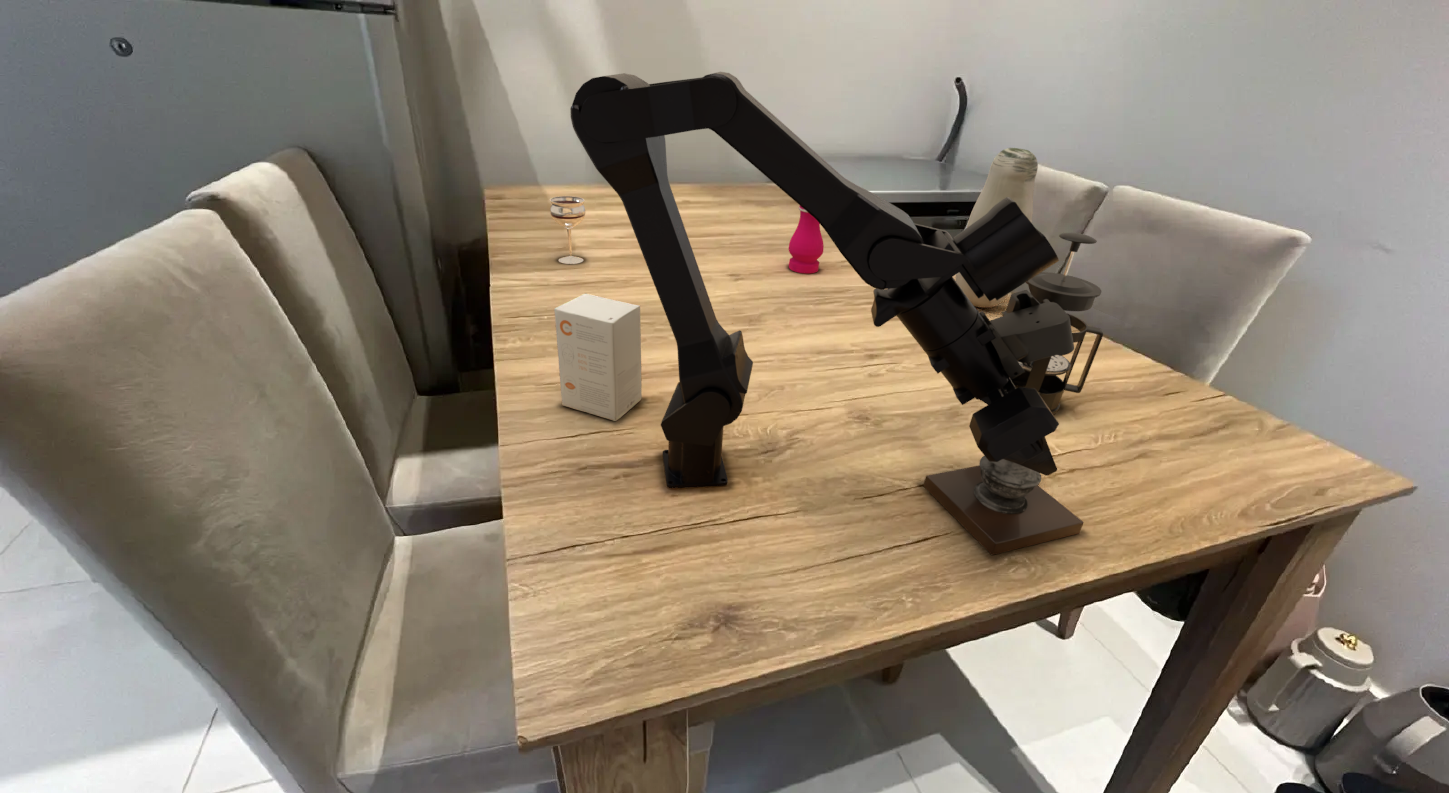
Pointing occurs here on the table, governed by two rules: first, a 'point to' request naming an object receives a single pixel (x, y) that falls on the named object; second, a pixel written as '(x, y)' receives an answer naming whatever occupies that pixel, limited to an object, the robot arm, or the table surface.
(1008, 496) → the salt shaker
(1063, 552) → the table surface
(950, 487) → the walnut board
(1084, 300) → the french press
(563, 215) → the wineglass
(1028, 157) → the cream bottle
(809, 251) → the pepper mill
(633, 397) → the small box
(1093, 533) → the table surface
